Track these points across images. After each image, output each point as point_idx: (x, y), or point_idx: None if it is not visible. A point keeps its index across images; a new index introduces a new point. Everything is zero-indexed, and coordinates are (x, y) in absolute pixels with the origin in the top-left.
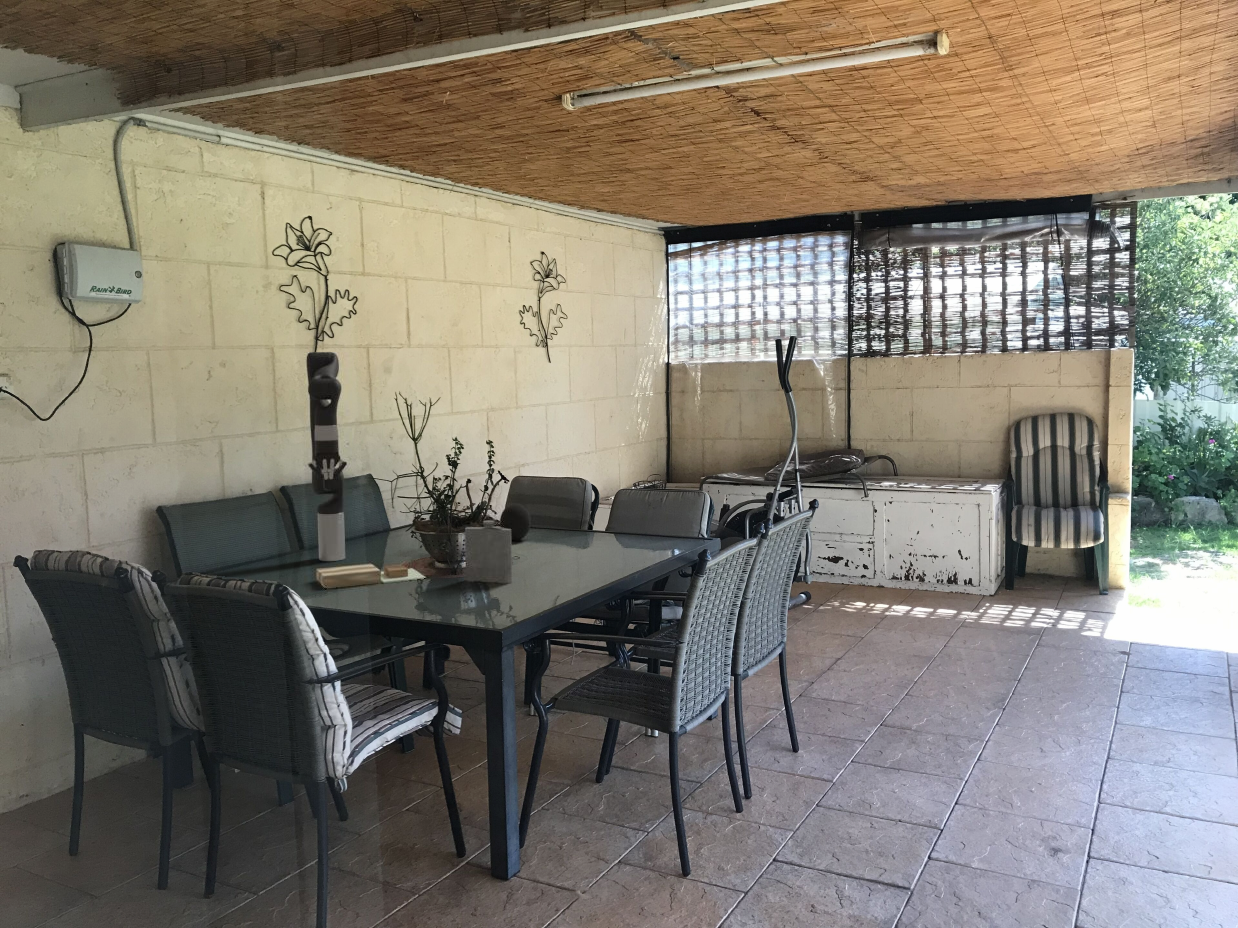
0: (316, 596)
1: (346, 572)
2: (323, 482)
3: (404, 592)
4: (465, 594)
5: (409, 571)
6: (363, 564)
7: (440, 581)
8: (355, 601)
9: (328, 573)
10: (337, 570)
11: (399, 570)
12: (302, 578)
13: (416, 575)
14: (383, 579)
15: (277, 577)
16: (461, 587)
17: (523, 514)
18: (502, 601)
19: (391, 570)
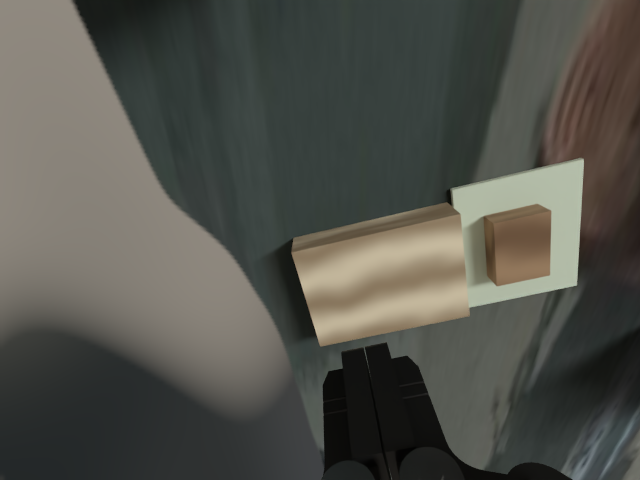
0: (306, 383)
1: (377, 316)
2: (325, 436)
3: (487, 389)
4: (595, 424)
5: (560, 203)
6: (435, 222)
7: (596, 315)
8: None
9: (329, 317)
10: (353, 287)
11: (523, 279)
12: (248, 195)
13: (561, 260)
14: (467, 285)
15: (168, 162)
16: (614, 375)
17: None
18: (631, 473)
19: (501, 283)
